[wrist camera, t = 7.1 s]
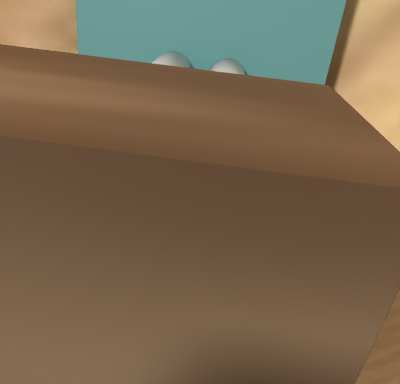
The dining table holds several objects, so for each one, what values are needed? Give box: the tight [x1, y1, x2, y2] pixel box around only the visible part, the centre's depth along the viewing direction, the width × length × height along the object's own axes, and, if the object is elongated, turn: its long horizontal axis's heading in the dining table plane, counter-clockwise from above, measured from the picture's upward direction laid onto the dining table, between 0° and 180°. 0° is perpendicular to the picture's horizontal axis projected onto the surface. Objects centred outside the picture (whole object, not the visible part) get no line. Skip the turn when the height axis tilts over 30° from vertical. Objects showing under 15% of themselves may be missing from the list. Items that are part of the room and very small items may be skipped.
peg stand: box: [76, 0, 347, 85], centre depth 16 cm, size 20×11×7 cm, turn 174°
